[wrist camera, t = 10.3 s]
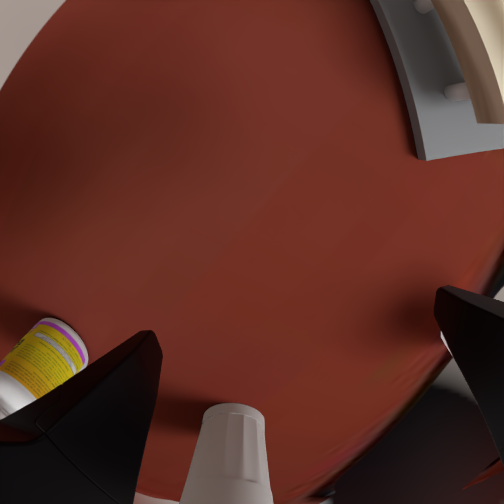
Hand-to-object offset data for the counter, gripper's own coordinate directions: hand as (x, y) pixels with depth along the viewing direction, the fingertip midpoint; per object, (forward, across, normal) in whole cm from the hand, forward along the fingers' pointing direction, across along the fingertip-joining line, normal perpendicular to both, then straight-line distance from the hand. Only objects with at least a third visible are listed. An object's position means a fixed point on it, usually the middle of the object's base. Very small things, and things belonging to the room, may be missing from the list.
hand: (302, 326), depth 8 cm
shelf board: (+8, -15, -12) cm, 20 cm away
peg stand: (+12, -15, -12) cm, 22 cm away
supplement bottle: (+12, +22, +9) cm, 27 cm away
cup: (+12, +7, +20) cm, 24 cm away
